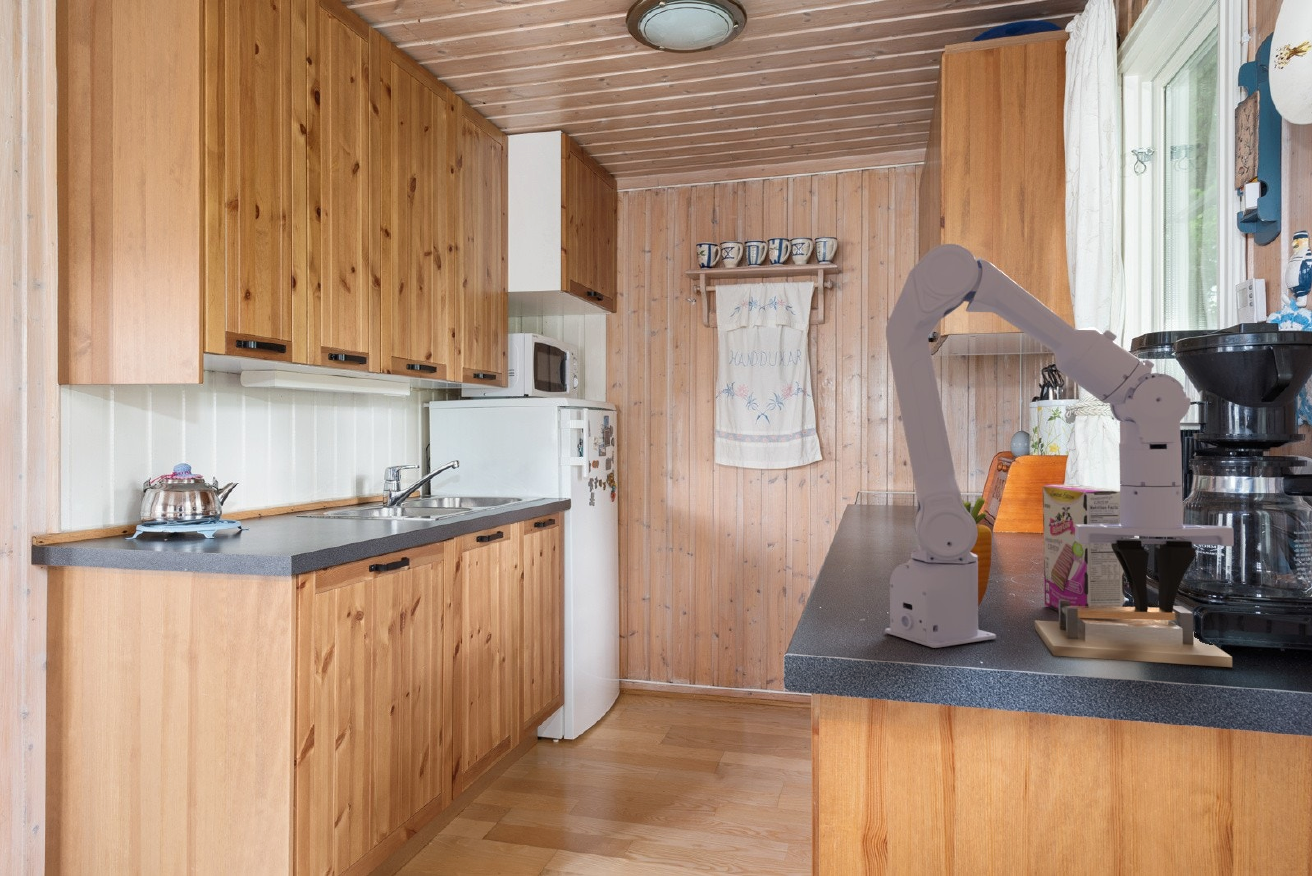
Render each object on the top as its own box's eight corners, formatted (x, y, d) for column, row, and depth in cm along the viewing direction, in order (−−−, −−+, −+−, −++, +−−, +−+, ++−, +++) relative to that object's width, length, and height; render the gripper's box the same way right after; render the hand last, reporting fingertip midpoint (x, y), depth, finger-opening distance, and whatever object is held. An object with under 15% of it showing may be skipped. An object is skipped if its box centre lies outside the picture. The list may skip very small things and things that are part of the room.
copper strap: (1065, 618, 87) (1065, 609, 87) (1061, 613, 89) (1061, 605, 89) (1175, 620, 84) (1174, 612, 84) (1167, 615, 86) (1167, 607, 86)
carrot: (947, 607, 107) (946, 495, 107) (985, 607, 107) (984, 495, 107) (960, 615, 102) (959, 498, 102) (1000, 615, 102) (999, 498, 102)
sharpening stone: (1069, 641, 85) (1069, 610, 85) (1057, 626, 92) (1056, 597, 92) (1199, 649, 81) (1199, 616, 81) (1176, 632, 88) (1176, 603, 88)
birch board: (1053, 655, 83) (1053, 645, 83) (1034, 628, 94) (1034, 620, 94) (1232, 667, 78) (1232, 657, 78) (1189, 637, 90) (1189, 628, 90)
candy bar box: (1041, 606, 107) (1040, 484, 107) (1078, 606, 107) (1077, 484, 107) (1085, 626, 96) (1084, 490, 96) (1127, 626, 96) (1126, 489, 96)
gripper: (1214, 482, 87) (1217, 606, 87) (1068, 483, 92) (1071, 601, 92) (1240, 487, 81) (1243, 620, 81) (1081, 487, 85) (1084, 614, 85)
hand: (1153, 611), depth 86 cm, fingers closed on copper strap, 2 cm apart
